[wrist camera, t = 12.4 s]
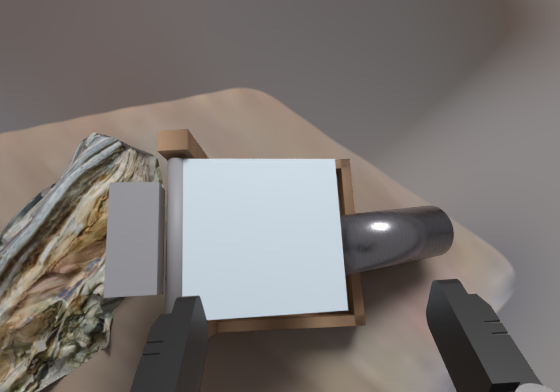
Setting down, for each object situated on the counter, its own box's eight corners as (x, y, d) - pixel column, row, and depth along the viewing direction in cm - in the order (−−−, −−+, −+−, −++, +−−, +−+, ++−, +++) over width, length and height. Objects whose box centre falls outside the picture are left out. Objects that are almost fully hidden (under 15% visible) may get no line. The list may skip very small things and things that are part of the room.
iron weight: (361, 278, 24) (457, 256, 29) (353, 213, 25) (449, 203, 29) (325, 273, 28) (414, 255, 33) (318, 218, 29) (408, 207, 33)
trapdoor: (113, 323, 23) (101, 328, 21) (121, 167, 25) (110, 156, 23) (338, 307, 25) (350, 310, 23) (327, 167, 28) (336, 157, 25)
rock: (-22, 314, 36) (80, 410, 32) (-110, 330, 29) (7, 453, 26) (95, 117, 36) (211, 189, 33) (35, 88, 30) (172, 174, 26)
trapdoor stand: (190, 328, 32) (135, 358, 21) (190, 177, 35) (142, 131, 24) (358, 320, 32) (395, 346, 20) (344, 168, 35) (369, 118, 23)
